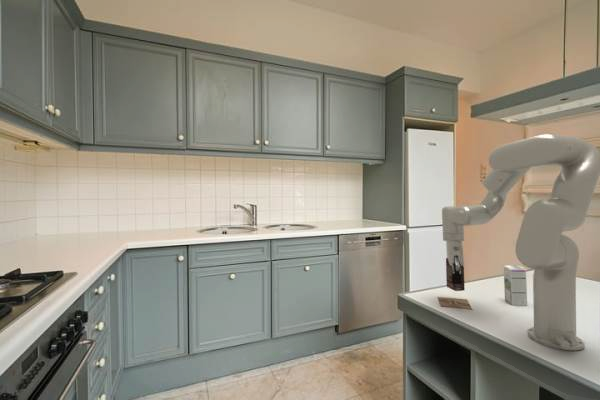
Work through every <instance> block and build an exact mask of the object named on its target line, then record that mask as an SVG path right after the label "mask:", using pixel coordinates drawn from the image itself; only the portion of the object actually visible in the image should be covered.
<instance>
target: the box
mask: <svg viewBox="0 0 600 400" xmlns="http://www.w3.org/2000/svg"><path fill="white" fill-rule="evenodd" d="M453 265H455V263H454V264H453ZM445 267H446V268H445V270H446V271H445V274H446V277H445V279H446V287H447V288H448V289H450V290H452V291H455V292H460V291H465V265H464V266H463V267H462V266H461V265H460V269H461V280H462V284H453V283H452V273H453V271H452V266H450V265H449V262H448V258H447V257H446V258H445ZM454 268H455V267H454Z"/></svg>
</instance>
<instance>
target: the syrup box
mask: <svg viewBox="0 0 600 400" xmlns="http://www.w3.org/2000/svg"><path fill="white" fill-rule="evenodd" d="M503 280H504V281H503V282H504V285H503V286H504V287H503V288H504V301H506V302H507V303H509V304H510V305H513V306H528V288H527V287H528V285H527V284H528V283H527V269H526V268H525V267H522V266H520V265H515V264H514V265H512V264H511V265H510V264H509V265H504V266H503Z"/></svg>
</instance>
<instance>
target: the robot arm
mask: <svg viewBox="0 0 600 400" xmlns="http://www.w3.org/2000/svg"><path fill="white" fill-rule="evenodd" d="M488 165H489V167H490V168H491V170H490V171H489V173H488V174H487V175H486V176H485V177H484V178H483V181H482V185H483V187H484V188H485V189H486V190H487V193H486V195H485V197H484V198H483V199H482V200H481V202H480V203H478V204H476V205H460V206H458V205H457V206H453V205H452V206H444V207H442V208H441V219H442V222H441V223H442V224H441V225H442V241H444V242H446V244H445V245H446V258H448V262H449V265H450V266H452V271H453V273H452V283H453V284H462V280H461V269H460V265H461V266H462V267H463V266H464V267H465V259H464V247H463V242H464V241H465V231H464V226H465V227H466V226H477V225H480V226H481V225H485V224H487V223H489V222H490V221H491V220H493V219H494V218H495V217H496V216H497V215H498V214H499V213H500V212H501V210H502V209H503V207H504V205H505V202H506V200H507V196H508V193H509V192H510V191H511V190H512V189H513V188H514V186H515V185H516V184H517V183H518V182H520V180H521V179H522V178H523V177H524V176H525V175H526V174H527V173H528V172H529V171H530V169H532V168H533V167H538V166H539V167H540V166H558V167H560V168H561V171H560V172H559V173H558V175H557V176H556V179H555V180H554V182H553V187H552V190H551V193H550V195H549V197H548V198H543V199H539V200H536V201H534V202H533V203H532V204H531V205H529V206H528V208H527V209H526V211H525V213H524V215H523V218H522V222H521V225H520V228H519V231H518V235H517V239H516V242H515V255H516V258H517V259H518V261H519V262H520V264H522V265H523V266H524V267H526V268H529V269H532V270H533V274H532V277H533V278H532V293H533V295H532V299H533V300H532V301H533V327H529V328H527V335H528V337H529V338H530V339H532V340H533V341H535V342H536V343H539V344H541V345H543V346H547V347H551V348H554V349H558V350H564V351H580V350H583V349H584V348H585V342H584V341H583V340H582V339H581V338H580V337H578V336H577V297H576V296H577V294H576V293H577V292H576V291H577V271H578V270H577V269H578V264H579V260H580V259H579V258H580V257H579V256H580V251H579V248H578V245H577V243H576V242H575V241H574V240H573V239H572V238H571V237H569V236H567V235H565V234H563V233H564V232H571V231H575V230H577V229H579V228H581V227H582V225H583V224H584V222H585V220H586V217H587V214H588V211H589V209H590V205H591V203H592V200H593V196H594V192H595V189H596V185H597V183H598V180H599V178H600V151H599V149H598V148H597V147H596V146H595V145H594V144H593V143H591V142H589V141H588V140H585V139H582V138H580V137H576V136H572V135H561V134H552V133H550V134H547V133H546V134H538V135H535V136H531V137H529V138H528V137H526V138H524V139H520V140H516V141H512V142H508V143H505V144H502V145H499V146H497V147H496V148H495V149H493V150H492V152H490V154H489V157H488ZM454 263H455V265H453V264H454ZM454 267H455V268H454Z"/></svg>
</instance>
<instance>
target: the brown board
mask: <svg viewBox="0 0 600 400" xmlns="http://www.w3.org/2000/svg"><path fill="white" fill-rule="evenodd" d="M437 299H438V302H439V305H440V307H443V308H452V309H464V310H473V307H472V305H471V303H470V302H469V301H468V299H466V298H455V297H444V296H437Z"/></svg>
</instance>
